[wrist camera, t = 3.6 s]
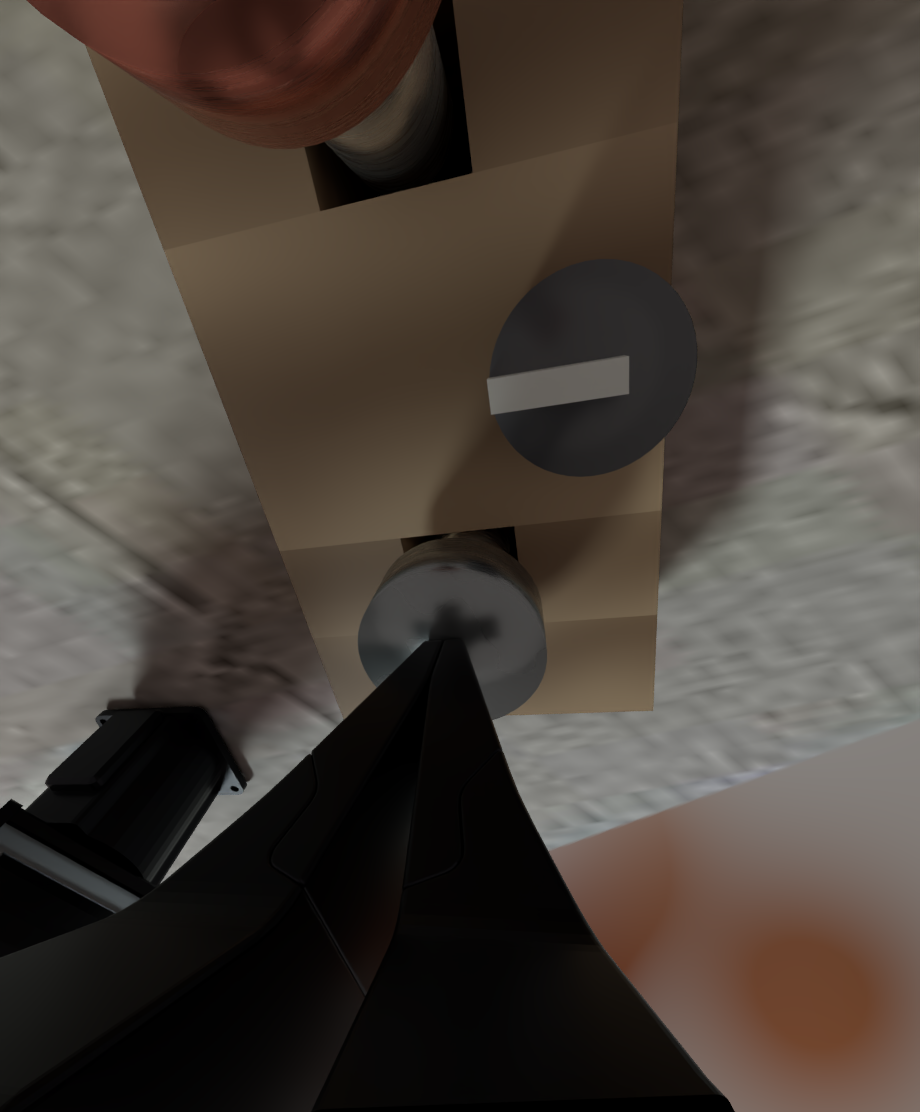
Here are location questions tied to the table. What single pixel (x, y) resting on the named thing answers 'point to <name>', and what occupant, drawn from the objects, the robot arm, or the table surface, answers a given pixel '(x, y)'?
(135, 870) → the robot arm
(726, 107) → the table surface
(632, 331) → the dial
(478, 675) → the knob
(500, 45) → the mount
